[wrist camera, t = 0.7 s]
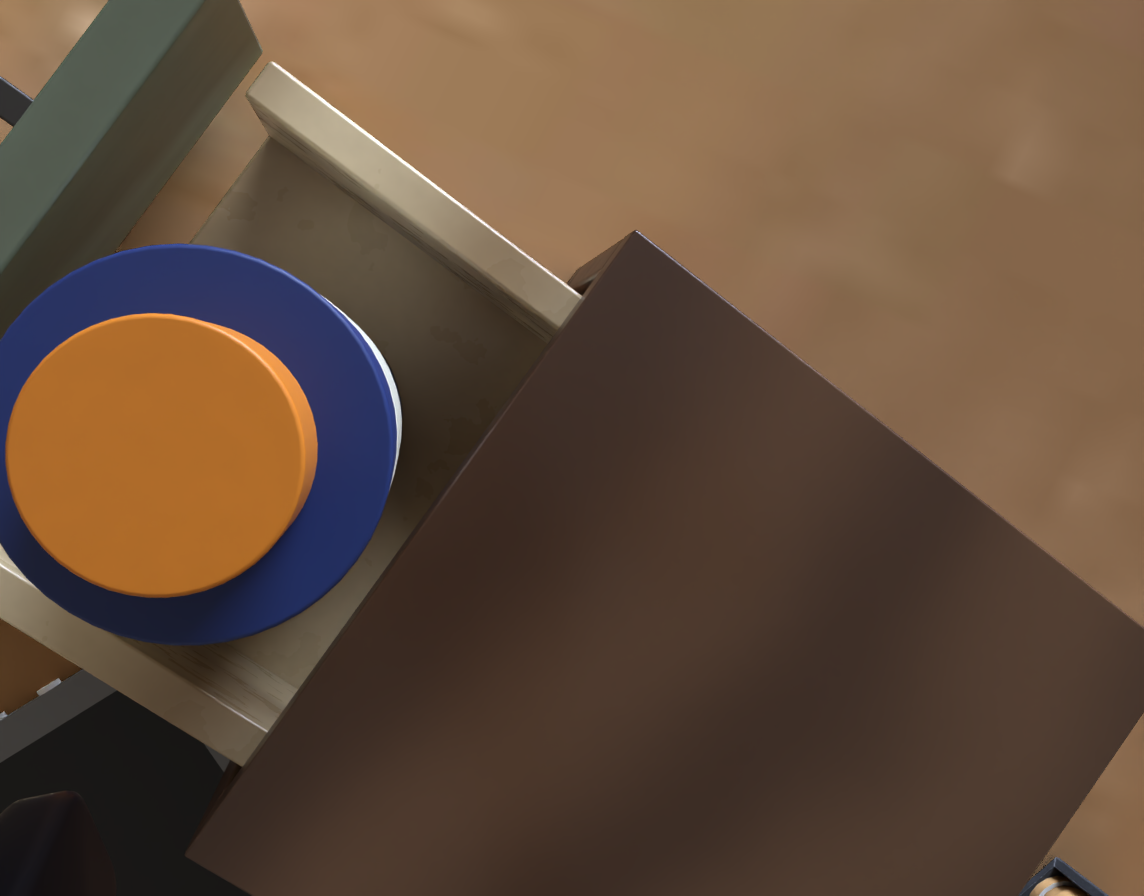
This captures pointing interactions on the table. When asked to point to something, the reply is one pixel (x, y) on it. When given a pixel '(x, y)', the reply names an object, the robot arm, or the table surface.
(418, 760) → the cabinet
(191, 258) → the glue bottle
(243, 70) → the drawer
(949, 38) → the table surface
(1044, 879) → the ammunition clip
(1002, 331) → the table surface
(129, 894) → the smartphone
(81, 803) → the robot arm
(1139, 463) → the table surface
